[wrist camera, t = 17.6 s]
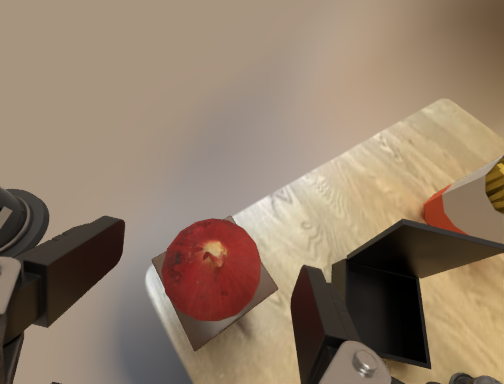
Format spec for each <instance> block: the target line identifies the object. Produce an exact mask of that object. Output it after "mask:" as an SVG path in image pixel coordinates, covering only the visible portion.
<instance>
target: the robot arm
mask: <svg viewBox="0 0 504 384" xmlns="http://www.w3.org/2000/svg"><path fill="white" fill-rule="evenodd" d="M32 221H33V211H32V208H31V206H30V205H29V204H28V203H27V202H26V201H25V200H23V199H22V198H20V197H18V196H16V195H13V194H12V193H10V192H8V191H7V190H5V189H3V188H2V187H0V254H2V253H4V252H6V251H7V250H9V249H11V248H12V247H13V246H15V245H16V244H17V243H18V242H19V241H20V240H21V239H22V238H23V237H24V236H25V235H26V233H27V232H28V230H29V229H30V227H31V224H32ZM124 232H125V222H124V220H121V219H118V218H113V217H109V216H103V217H101V218H99V219H97V220H95V221H93V222H92V223H90V224H89V223H88V224H84V225H80V226H77V227H73V228H71V229H69V230H67V231H65V232H64V233H62V235H58V236H56V237H54V238H52V240H48V241H46V242H44V243H42V244H40V245H38V246H36V247H34V248H32V249H31V250H29V251H27V252H25V253H23V254H21V255H19V256H17V257H15V258H11V257H0V384H13V380H14V375H15V372H16V368H17V364H18V360H19V356H20V351H21V348H22V344H23V340H24V330H25V329H26V328H28V327H29V326H30V325H31V324H35V325H39V326H43V327H47V328H48V327H49V326H50V325H51V324H52V323H53V322H54V321H56V320H57V319H58V318H59V317H60V316H61V315H62V314H63V313H64V312H66V311H67V310H68V309H69V308H70V307H71V306H72V305H73V304H74V303H75V302H76V301H78V299H80V298H81V297H82V296H83V295H84V294H85V293H86V292H87V291H88V290H89V289H91V287H93V286H94V285H95V284H96V283H97V282H98V281H99V280H101V279H102V278H103V277H104V276H105V275H106V274H107V273H108V272H109V271H110V270H111V269H113V268H114V267H115V266H116V265H117V263H118V262H119V260H120V258H121V256H122V252H123V243H124ZM291 315H292V322H293V330H294V337H295V344H296V351H297V358H298V366H299V373H300V380H301V384H405V383H403V382H401V381H399V380H397V379H395V378H394V377H392V376H391V375H390V372H389V370H388V368H387V366H386V364H385V363H384V362H383V360H382V359H381V358H380V357H379V356H378V355H377V354H376V353H375V352H374V351H373V350H371V349H370V348H369V347H367V346H365V345H364V344H362V341H361V339H360V337H359V335H358V333H357V330H356V328H355V326H354V324H353V321H352V319H351V317H350V315H349V314H348V310H347V308H346V306H345V305H344V301H343V299H342V297H341V295H340V293H339V292H338V291H337V289H336V288H335V287H334V286H333V285H332V284H331V283H327V282H326V280H325V277H324V275H323V272H322V270H321V269H319V268H315V267H311V266H307V265H303V266H302V268H301V270H300V273H299V276H298V279H297V282H296V285H295V287H294V290H293V293H292V297H291ZM52 384H60V383H56V382H52ZM426 384H440V383H437V382H427V383H426Z"/></svg>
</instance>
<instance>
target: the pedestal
mask: <svg viewBox="0 0 504 384" xmlns="http://www.w3.org/2000/svg"><path fill="white" fill-rule="evenodd" d="M223 220H228V221H230V222H232V223H234V224H236V223H235V221H234V219H233V218H232V216H229V217H227V218H225V219H223ZM236 225H237V224H236ZM165 255H166V252H164V253H162V254H160V255H159V256H157V257H155V258H153V259H152V262H153V265H154V267H155V269H156V271H157V273H158V275H159V277H160V279H161V282H162V284H163V286H164V283H163V278H162V273H161V270H162V266H163V262H164V259H165ZM277 290H278V287H277V285H276V284H275V282H274V281H273V279H272V278H271V276H270V275H269V273H268V271H267V270H266V268H265V267H264V265H263V264H262V262H261V272H260V283H259V285H258V288H257V290H256V292H255V295H254V297H253V299H252V301H251V302H250V303H249V304H248V305H247V306H246V307H245V308H243V309H242V310H241V311H240V312H239V313H238V314H237V315H235V316H232V317H229V318H226V319H223V320H220V321H199V320H196V319H194V318H192V317H190V316H188V315H186V314H184V313H182V312H180V311H179V310H178V309H177V308H176V306H175V305H174V304H173V302H172V301H171V300H170V301H171V303H172V305H173V307H174V309H175V311H176V313H177V315H178V318H179V320H180V322H181V324H182V326H183V328H184V330H185V332H186V335H187V337H188V339H189V341H190V343H191V345H192V347H193V349H194V351H197V350H198V349H200V348H201V347H202V346H204V345H205V344H206V343H208V342H209V341H210V340H212V339H213V338H214V337H216V336H217V335H218V334H219V333H221V332H222V331H223V330H225V329H226V328H227V327H229V326H230V325H231V324H233V323H234V322H235V321H237V320H238V319H239V318H241V317H242V316H243V315H245V314H246V313H247V312H249V311H250V310H251V309H253V308H254V307H255V306H257V305H258V304H259V303H261V302H262V301H263V300H265V299H266V298H267V297H269V296H270V295H271V294H273V293H274V292H275V291H277Z"/></svg>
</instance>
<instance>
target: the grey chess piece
mask: <svg viewBox="0 0 504 384" xmlns="http://www.w3.org/2000/svg"><path fill="white" fill-rule="evenodd" d="M449 384H502V383H500V382H499V381H498V380H496V379H495V378H492V377H489V376H480V377H476V378H472V377H471V376H469V375H467V374H464V373H457V374H454V375H453V376H452V378H451V380H450V383H449Z"/></svg>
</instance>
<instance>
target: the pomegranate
mask: <svg viewBox="0 0 504 384" xmlns="http://www.w3.org/2000/svg"><path fill="white" fill-rule="evenodd" d="M260 272H261V259H260V256H259V253H258V249H257V246H256V243H255V242H254V241H253V239H252V238H251V237H250V236H249V235H248V233H247V232H246V231H245V230H244V229H243V228H242V227H240V226H238V225H236V224H234V223H232V222H230V221H228V220H221V219H208V220H203V221H198V222H196V223H194V224H192V225H190V226H189V227H187V228H185V229H184V230H182V231H181V232H180V233H179V234H178V235H177V237H176V238H175V239H174V241H173V242H172V243H171V245H170V246H169V247H168V248H167V251H166V255H165V259H164V262H163V266H162V270H161V273H162V278H163V283H164V288H165V293H166V295H167V296H168V297H169V299H170V300H171V301H172V302H173V304H174V305H175V306H176V308H177V309H178V310H179V311H180V312H182V313H184V314H186V315H188V316H190V317H192V318H194V319H196V320H199V321H220V320H223V319H226V318H229V317H232V316H235V315H237V314H238V313H239V312H240V311H241V310H242V309H243V308H245V307H246V306H247V305H248V304H249V303H250V302H251V301H252V299H253V297H254V295H255V292H256V290H257V288H258V285H259V283H260Z"/></svg>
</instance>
